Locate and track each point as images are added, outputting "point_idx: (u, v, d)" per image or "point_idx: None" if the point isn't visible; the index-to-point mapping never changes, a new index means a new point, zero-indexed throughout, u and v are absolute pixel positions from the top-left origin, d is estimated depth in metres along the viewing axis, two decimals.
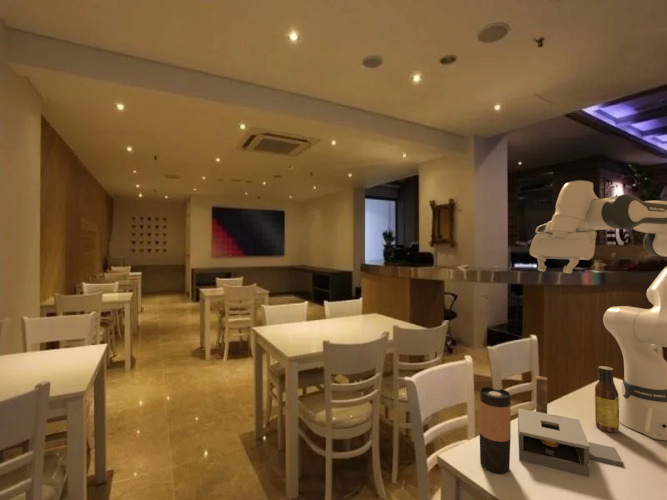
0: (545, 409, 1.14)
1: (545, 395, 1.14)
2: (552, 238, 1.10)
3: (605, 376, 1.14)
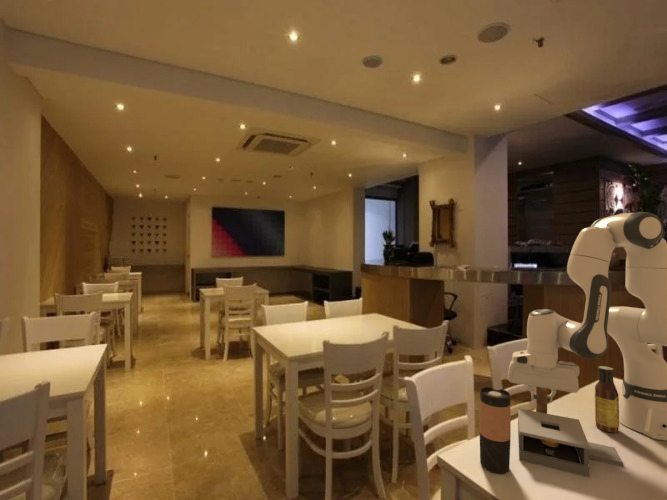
0: (545, 409, 1.14)
1: (545, 395, 1.14)
2: (535, 369, 1.15)
3: (605, 376, 1.14)
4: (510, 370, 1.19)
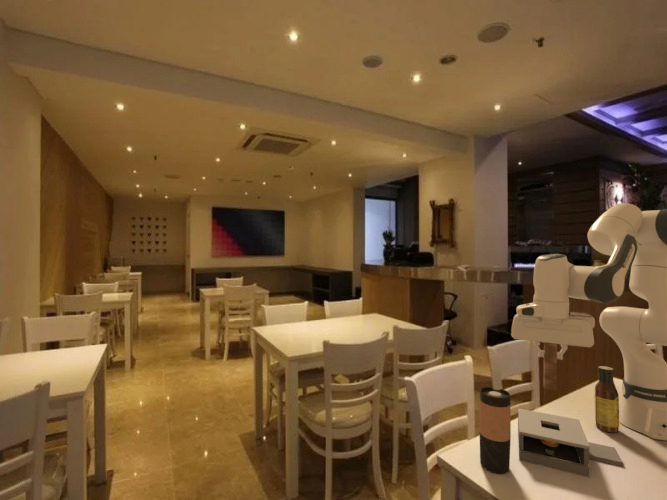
0: (554, 368, 0.99)
1: (554, 352, 0.99)
2: (543, 322, 1.00)
3: (605, 376, 1.14)
4: (514, 324, 1.03)
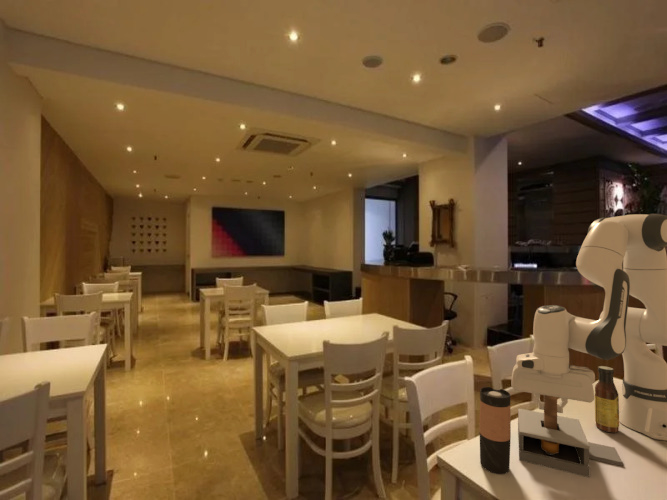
0: (555, 421, 0.99)
1: (555, 405, 0.99)
2: (543, 375, 1.00)
3: (605, 376, 1.14)
4: (514, 376, 1.03)
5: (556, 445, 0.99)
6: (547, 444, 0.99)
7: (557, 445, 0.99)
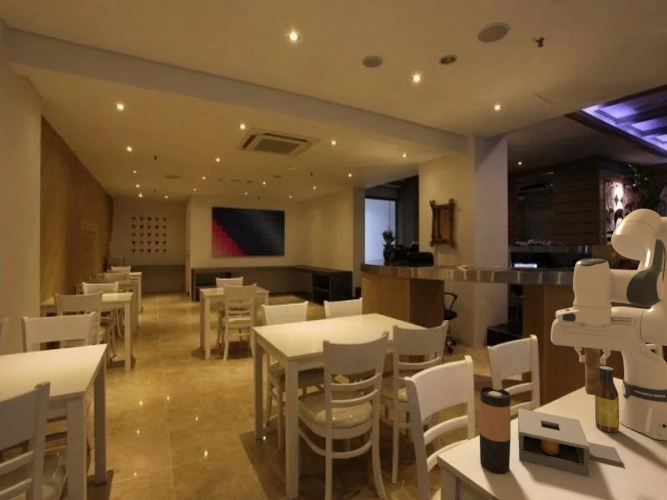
0: (597, 373, 0.99)
1: (597, 357, 0.98)
2: (584, 328, 0.99)
3: (605, 376, 1.14)
4: (554, 330, 1.03)
5: (556, 445, 0.99)
6: (547, 444, 0.99)
7: (557, 445, 0.99)
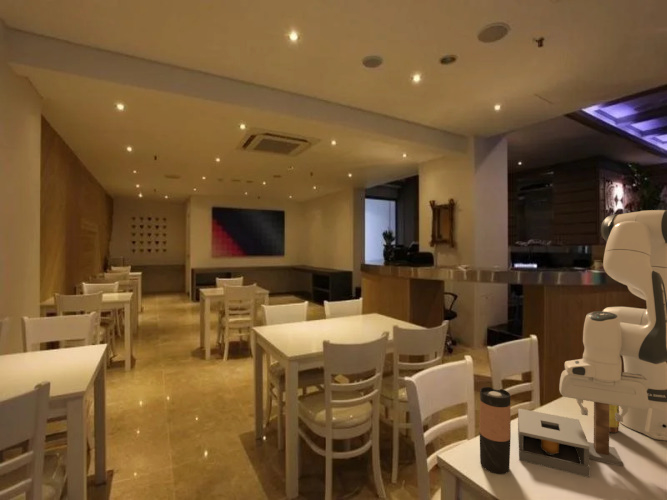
0: (607, 432, 0.98)
1: (607, 416, 0.98)
2: (594, 382, 0.99)
3: None
4: (563, 382, 1.02)
5: (556, 445, 0.99)
6: (547, 444, 0.99)
7: (557, 445, 0.99)
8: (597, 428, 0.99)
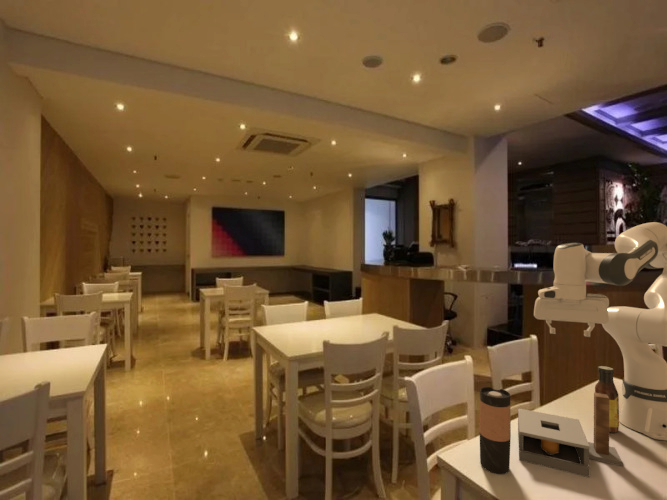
0: (607, 432, 0.98)
1: (607, 416, 0.98)
2: (563, 303, 1.13)
3: (605, 376, 1.14)
4: (537, 306, 1.16)
5: (556, 445, 0.99)
6: (547, 444, 0.99)
7: (557, 445, 0.99)
8: (597, 428, 0.99)
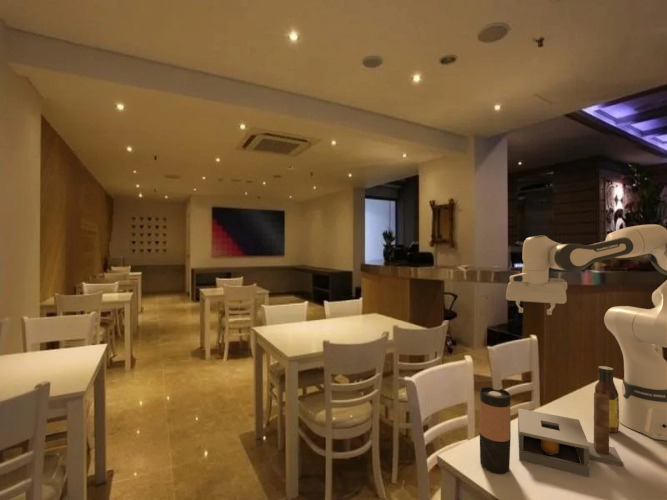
0: (607, 432, 0.98)
1: (607, 416, 0.98)
2: (529, 286, 1.34)
3: (605, 376, 1.14)
4: (508, 289, 1.37)
5: (556, 445, 0.99)
6: (547, 444, 0.99)
7: (557, 445, 0.99)
8: (597, 428, 0.99)
